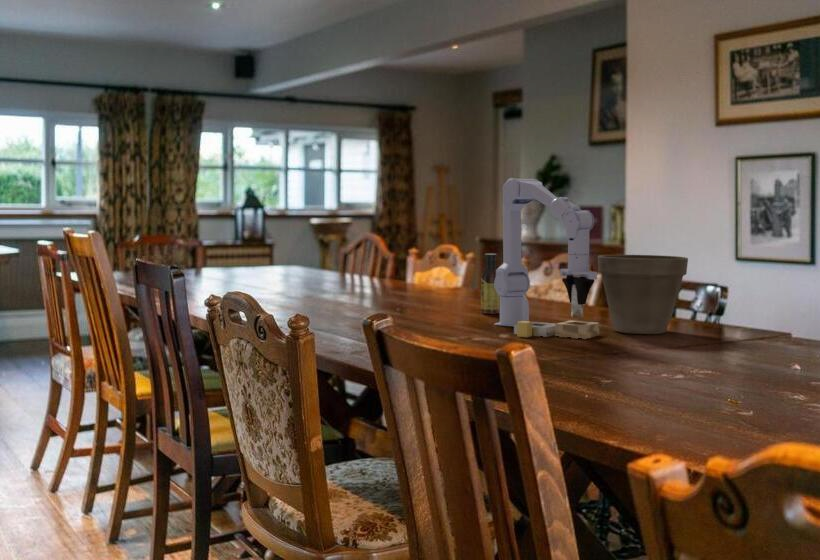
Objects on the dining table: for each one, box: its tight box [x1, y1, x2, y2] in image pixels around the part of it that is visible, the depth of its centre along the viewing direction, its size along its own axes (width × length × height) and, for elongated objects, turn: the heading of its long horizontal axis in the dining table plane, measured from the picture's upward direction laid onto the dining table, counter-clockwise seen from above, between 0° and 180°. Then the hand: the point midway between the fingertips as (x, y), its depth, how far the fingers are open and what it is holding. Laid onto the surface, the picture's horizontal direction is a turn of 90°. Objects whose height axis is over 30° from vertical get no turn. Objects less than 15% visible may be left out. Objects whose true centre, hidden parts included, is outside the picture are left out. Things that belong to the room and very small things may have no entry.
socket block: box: [513, 321, 556, 338], centre depth 267 cm, size 10×10×2 cm
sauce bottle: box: [480, 253, 500, 315], centre depth 314 cm, size 6×6×20 cm
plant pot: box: [597, 254, 689, 335], centre depth 271 cm, size 25×25×22 cm
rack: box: [554, 320, 600, 340], centre depth 263 cm, size 9×9×4 cm
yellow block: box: [516, 320, 533, 338], centre depth 262 cm, size 3×3×4 cm
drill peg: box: [570, 284, 584, 319], centre depth 262 cm, size 3×3×9 cm
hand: (577, 303), depth 262 cm, fingers closed on drill peg, 3 cm apart
